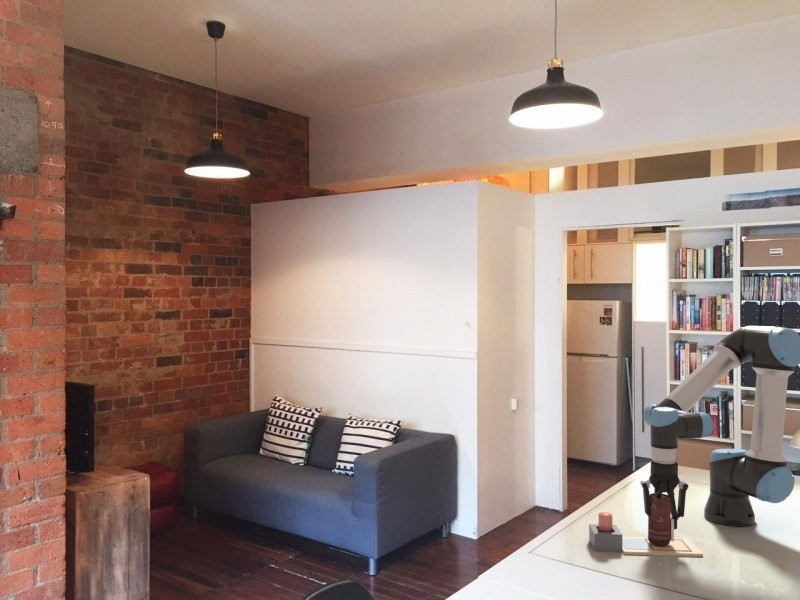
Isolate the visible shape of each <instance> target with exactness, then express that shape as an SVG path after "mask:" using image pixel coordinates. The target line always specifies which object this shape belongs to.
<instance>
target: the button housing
mask: <svg viewBox="0 0 800 600" xmlns="http://www.w3.org/2000/svg"><path fill="white" fill-rule="evenodd" d="M588 527H589V530H588V538H589V539H588V541H589V543H590V545H591V548H592V549H593V550H594V552H620V553H621V552H622V537H623V533H622V532H621V530H620V529H619V527H618V525H617V524H612V531H610V532H604V531H600V530H599V529H598V523H597V524H588ZM622 553H623V552H622Z"/></svg>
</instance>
